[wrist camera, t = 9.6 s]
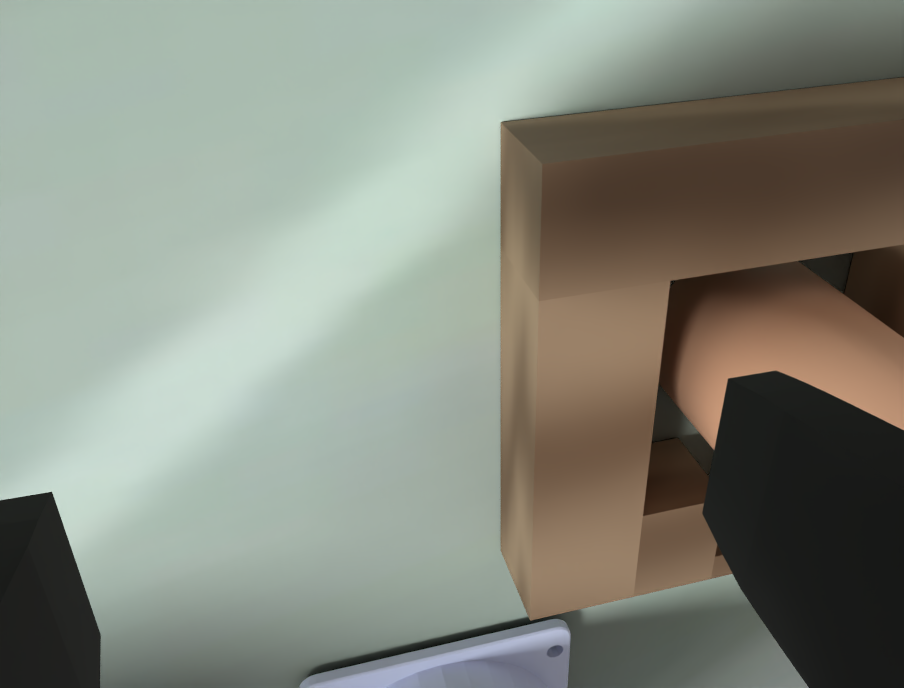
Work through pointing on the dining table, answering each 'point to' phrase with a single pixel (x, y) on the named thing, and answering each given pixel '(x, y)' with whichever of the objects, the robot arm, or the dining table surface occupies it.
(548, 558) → the keyhole board
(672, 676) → the dining table surface
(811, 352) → the terracotta peg
